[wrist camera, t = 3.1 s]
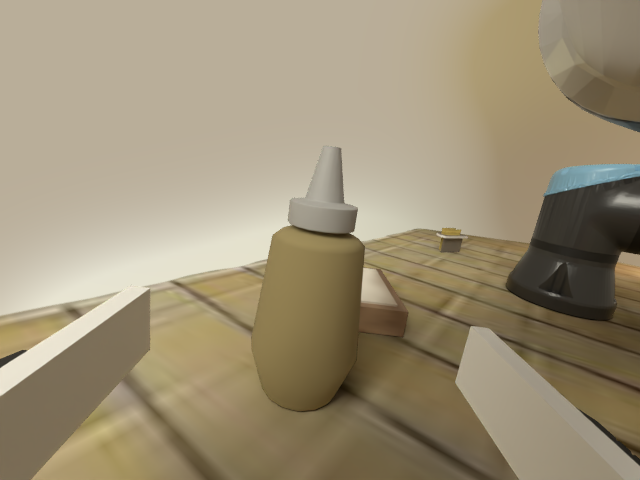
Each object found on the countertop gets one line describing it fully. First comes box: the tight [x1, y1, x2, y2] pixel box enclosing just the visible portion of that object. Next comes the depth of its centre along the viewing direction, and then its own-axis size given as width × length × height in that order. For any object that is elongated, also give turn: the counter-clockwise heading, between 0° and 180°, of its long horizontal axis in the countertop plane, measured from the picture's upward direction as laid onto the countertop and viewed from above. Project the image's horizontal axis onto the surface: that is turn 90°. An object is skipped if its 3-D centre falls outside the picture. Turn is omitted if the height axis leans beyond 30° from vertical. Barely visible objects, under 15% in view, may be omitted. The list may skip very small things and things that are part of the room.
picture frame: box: [359, 267, 408, 337], centre depth 39 cm, size 14×14×3 cm
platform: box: [436, 228, 468, 252], centre depth 80 cm, size 12×18×7 cm, turn 120°
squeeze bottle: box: [251, 146, 365, 411], centre depth 21 cm, size 8×8×18 cm
